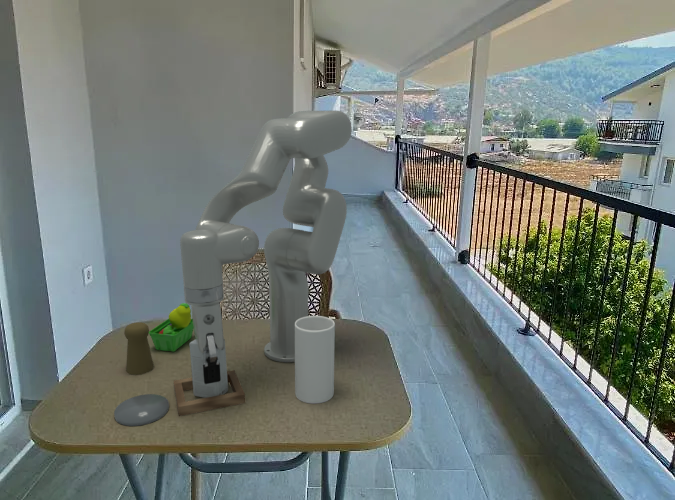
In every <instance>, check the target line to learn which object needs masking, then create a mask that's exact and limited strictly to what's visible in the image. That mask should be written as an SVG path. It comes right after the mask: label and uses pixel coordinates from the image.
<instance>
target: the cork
mask: <svg viewBox="0 0 675 500" xmlns="http://www.w3.org/2000/svg"><path fill="white" fill-rule="evenodd" d="M149 331H150V328H149V326H148V324H147V323H144V322H140V321H139V322H138V321H137V322H132V323H129V324H128V325H127V326H126V327H125V329H124V337H125V339H126V340H127V345H126V347H127V349H126V365H125V366H126V367H125V372H126V374H127V375H131V376H132V375H133V376H134V375H135V376H137V375H138V376H139V375H143V374H144V375H145V374H147V373H149V372H151V371H152V370H153V369H154V368H155V365H154V360H153V356H152V352H151V349H150V344H149V340H148V336H149Z"/></svg>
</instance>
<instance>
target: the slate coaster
mask: <svg viewBox="0 0 675 500" xmlns="http://www.w3.org/2000/svg"><path fill="white" fill-rule="evenodd" d="M169 408H170V402H169V399H168V398H166V397H165V396H163V395H161V394H155V393H154V394H153V393H146V394H139V395H136V396H133V397H130V398H127V399H125V400H124V401H122V402H121V403H119V404H118V405H117V406H116V408H115V409H114V412H113V413H114V420H115V421H116V422H117V423H118V424H120V425H123V426H125V427H137V426H139V427H141V426H145V425H149V424H151V423H153V422H156V421H159V420H160V419H161V418H163V417H164V416H165V415H166V414H167V413H168V412H169V410H170V409H169Z"/></svg>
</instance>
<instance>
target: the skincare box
mask: <svg viewBox="0 0 675 500" xmlns="http://www.w3.org/2000/svg"><path fill="white" fill-rule="evenodd" d="M206 340H207V338H206ZM224 346H225V348H224V349H223V350H221V349H220V350H219V348H218V347H217V350H218V358H219V363H220V377H221V380H220V381H219V382H215V383H209V384H205V383H204V374H203V365H204V358H203V353H201V352H200V351H199V348H198V345H197V342H196V338H195V339H194V340H192V341H190V342H189V354H190V367H191V378H192V381H193V389H192V392H193V396H194V397H195V396H196V397H198V398H199V397H200V398H208V397H213V396H218V395H223V394H227V392H228V391H229V385H228V384H229V383H228V381H227V371H228V368H227V367H228V366H227V353H226V352H227V350H226V340H225V338H224ZM205 350H208V347H205ZM206 355H207V358H208V357H209V353H206Z"/></svg>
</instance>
